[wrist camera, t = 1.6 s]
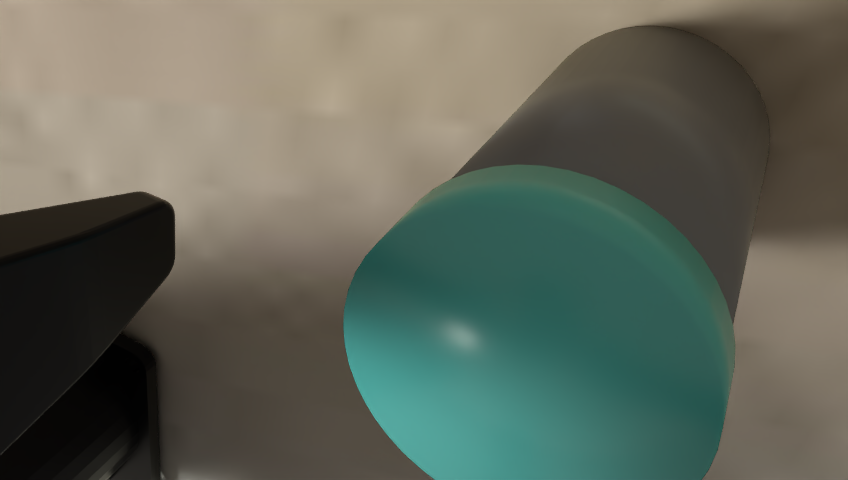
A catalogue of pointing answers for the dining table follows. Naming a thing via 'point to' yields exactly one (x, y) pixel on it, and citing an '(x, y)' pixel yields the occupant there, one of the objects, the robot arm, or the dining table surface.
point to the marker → (574, 276)
